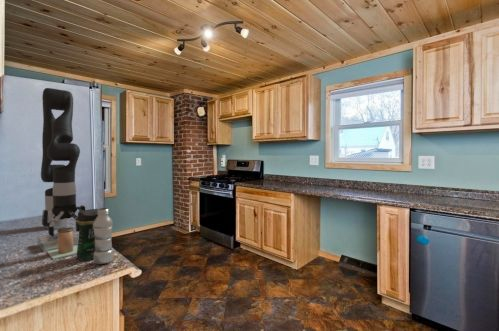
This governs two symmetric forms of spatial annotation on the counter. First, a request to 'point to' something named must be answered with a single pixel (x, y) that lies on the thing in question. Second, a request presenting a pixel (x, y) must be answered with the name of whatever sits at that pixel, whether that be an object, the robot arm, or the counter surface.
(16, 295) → the counter surface
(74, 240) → the housing
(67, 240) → the tan rounded cylinder
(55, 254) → the mat
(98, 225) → the plastic bottle
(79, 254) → the coffee jar
